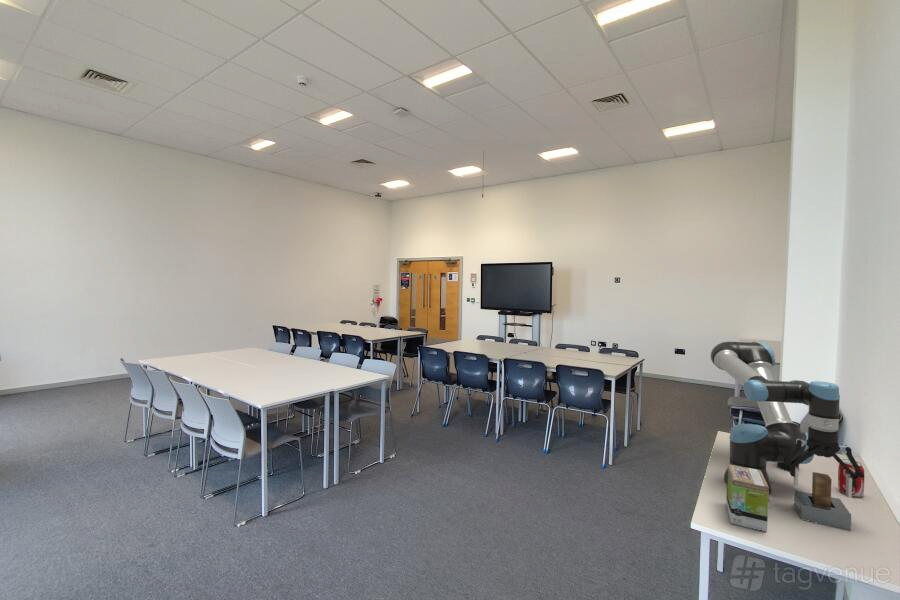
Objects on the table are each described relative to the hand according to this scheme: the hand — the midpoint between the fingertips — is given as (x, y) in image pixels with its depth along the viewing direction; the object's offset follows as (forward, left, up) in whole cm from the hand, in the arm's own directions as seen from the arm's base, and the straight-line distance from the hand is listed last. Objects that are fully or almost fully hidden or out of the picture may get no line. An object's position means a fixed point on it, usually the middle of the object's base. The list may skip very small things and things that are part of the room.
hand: (821, 491), depth 138 cm
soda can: (+14, +27, -9) cm, 32 cm away
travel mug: (-2, +43, -9) cm, 44 cm away
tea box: (-22, -14, -9) cm, 28 cm away
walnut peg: (0, 0, -8) cm, 8 cm away
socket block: (0, 0, -9) cm, 9 cm away
